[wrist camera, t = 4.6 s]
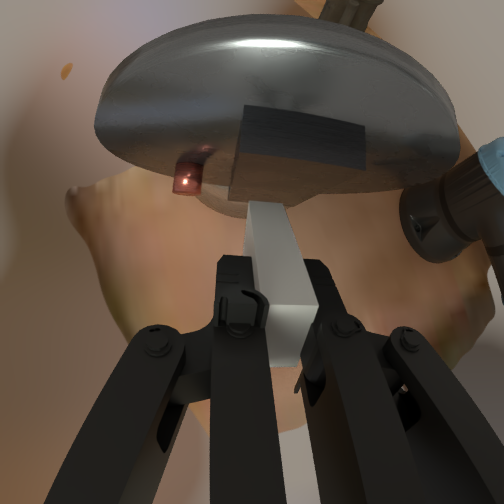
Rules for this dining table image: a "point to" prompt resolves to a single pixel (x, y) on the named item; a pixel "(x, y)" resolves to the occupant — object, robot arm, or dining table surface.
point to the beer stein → (349, 12)
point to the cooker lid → (278, 110)
